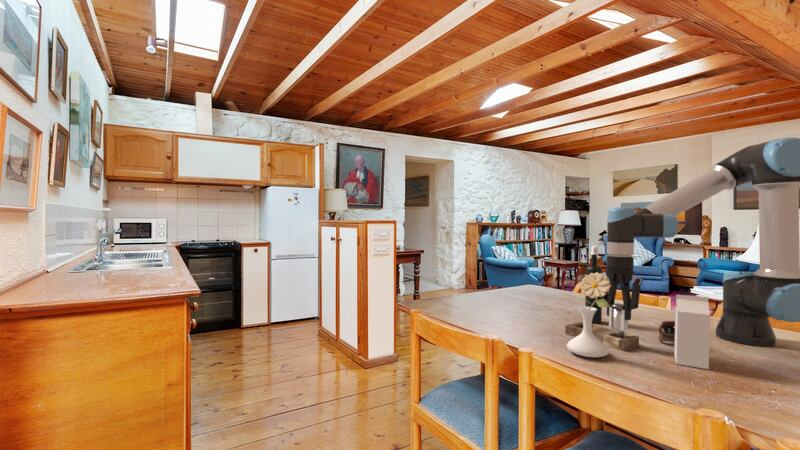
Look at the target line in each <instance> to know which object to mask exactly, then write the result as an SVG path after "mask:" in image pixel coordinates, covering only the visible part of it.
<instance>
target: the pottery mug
mask: <svg viewBox="0 0 800 450" xmlns="http://www.w3.org/2000/svg"><path fill="white" fill-rule="evenodd" d="M658 342H659V343H660V344H663V342H665V343H666V342H667V343H668V342H669V343H670V342H671V343H675V320H664V321H662V322H661V323H660V325H659V326H658Z"/></svg>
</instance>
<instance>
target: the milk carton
mask: <svg viewBox="0 0 800 450" xmlns="http://www.w3.org/2000/svg"><path fill="white" fill-rule="evenodd" d="M675 297H676V299H675V304H674V308H675V309H674V321H675V326H674V328H675V342H674V345H673V346H674V348H673V350H674V351H673V352H674V360H675V363H676V364H677V365H681V366H687V367H692V368H698V369H699V368H700V369H704V370H709V369H710V327H711V324H710V322H711V320H710V319H711V313H710V305H709V297H708V296H707V297H705V296H697V295H695V296H694V295H687V294H686V295H684V294H676V295H675Z"/></svg>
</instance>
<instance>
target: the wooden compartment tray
mask: <svg viewBox="0 0 800 450" xmlns="http://www.w3.org/2000/svg"><path fill="white" fill-rule="evenodd" d="M583 326H584V324H583V321H579V322H575V323H571V324H570V323H569V324H566V325H565V329H564V330H565V335H566V336H567V335H568V336H571V337H573V338H575V337H576V336H578V335H580V334H581V333H582V331H583ZM592 333H593V334H594V336H595V337H596V338H597V339H599V340H600V341H601V342H602V343H603V344H604V345H605V346H606V347H607V348H612V349H614V350H619V351H622V352H625V351H628V350H631V349H634V348H637V347H639V346H640V336H638V335H633V334H630V333H627V332H624V339H621V338H617V337H613V336H612V334H613V329H609V328H606V327H602V326H598V325H596V324H592Z"/></svg>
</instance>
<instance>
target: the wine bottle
mask: <svg viewBox="0 0 800 450" xmlns="http://www.w3.org/2000/svg"><path fill="white" fill-rule="evenodd" d="M590 251H591V253H590V254H591V258H590V259H591V261H590V263H591V265H587V266H586V268H585V275H590V273H593V274H594V273H596V272H598V273H603V268H602V267H601V266H599V265H598V245H591V248H590ZM584 297H585V298H584V299H585V300H587V301H588V302H589V303H588V302H586V301H585V300H584V302H585V307H590V306H591V304H593V303H594V301H595V300H596V298H590V297H589V296H586V295H585V296H584ZM599 299H601V297H598V298H597V300H599ZM592 307H593V308H596V309H597V311H596V312H595V313H594V315H593V319H592V325H600V324H602V319H603V318H602V315H603V314H602V313H603V311H602V309H603V307H599V306H598V305H597V303H596V302H595V303H594V305H593V306H592Z"/></svg>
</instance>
